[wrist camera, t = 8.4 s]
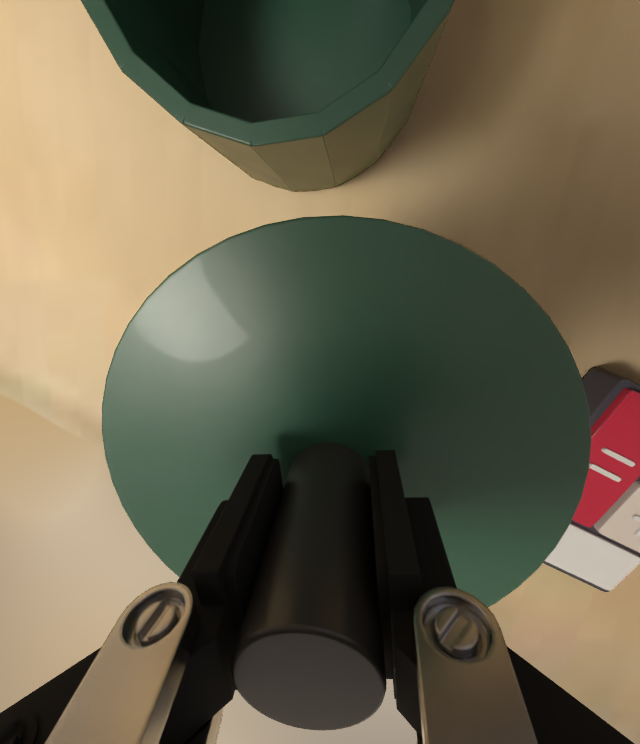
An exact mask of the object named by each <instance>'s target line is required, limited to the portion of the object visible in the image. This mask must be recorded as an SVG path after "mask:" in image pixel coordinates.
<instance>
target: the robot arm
mask: <svg viewBox="0 0 640 744" xmlns="http://www.w3.org/2000/svg"><path fill="white" fill-rule="evenodd" d="M369 470H370V486H371V501H372V516H373V531H374V546H375V561H376V576H377V590H378V605H379V620H380V624H381V627H382V632H383V644H384V657H385V671H386V679H393V685H394V696H395V699H396V703H397V709H398V711H399V712H400V713H401V714H402V715H403V716H404V717H405V718H406V720H407V721H408V722H409V723H410V725H411V726H412V727H413V728H414V729H415V734H416V744H634V743H633V742H632V741H630V740H629V739H628V738H626V737H625V736H624V735H622V734H621V733H620V732H618V731H617V730H616V729H614V728H613V727H612V726H611V725H609V724H608V723H607V722H605V721H604V720H603V719H601V718H600V717H599V716H597V715H596V714H595V713H594V712H592V711H591V710H590V709H588V708H587V707H586V706H584V705H583V704H582V703H580V702H579V701H578V700H576V699H575V698H574V697H573V696H571V695H570V694H569V693H567V692H566V691H565V690H563V689H562V688H561V687H559V686H558V685H557V684H556V683H554V682H553V681H552V680H550V679H549V678H548V677H546V676H545V675H544V674H542V673H541V672H540V671H538V670H537V669H536V668H535V667H533V666H532V665H531V664H529V663H528V662H527V661H525V660H524V659H523V658H521V657H520V656H519V655H518V654H516V653H515V652H514V651H512V650H511V649H510V648H508V647H507V646H506V643H505V640H504V637H503V634H502V631H501V628H500V626H499V624H498V622H497V620H496V618H495V616H494V615H493V613H492V612H491V611H490V610H489V609H488V607H487V606H486V605H485V604H484V603H483V602H481V601H480V600H479V599H478V598H476V597H475V596H474V595H472V594H470V593H468V592H466V591H463V590H461V589H457V587H456V584H455V580H454V577H453V574H452V571H451V567H450V564H449V561H448V558H447V554H446V551H445V548H444V545H443V541H442V538H441V535H440V531H439V528H438V525H437V522H436V518H435V515H434V512H433V509H432V505H431V502H430V500H429V498H428V497H406V498H405V496H404V491H403V487H402V482H401V477H400V472H399V467H398V462H397V458H396V453H395V450H376V456H369ZM283 489H284V488H283V482H282V476H281V469H280V463H279V460H278V459H273V456H272V455H271V454H253V455H252V456H251V457H250V459H249V461H248V463H247V465H246V467H245V469H244V471H243V473H242V475H241V477H240V479H239V480H238V482H237V484H236V486H235V488H234V490H233V492H232V494H231V496H230V498H229V500H224V501H222V502H221V503H220V505H219V506H218V508H217V510H216V511H215V513H214V515H213V517H212V519H211V521H210V523H209V524H208V526H207V528H206V530H205V532H204V534H203V535H202V537H201V539H200V541H199V543H198V545H197V546H196V548H195V550H194V552H193V554H192V556H191V557H190V559H189V561H188V563H187V565H186V567H185V568H184V570H183V572H182V574H181V576H180V578H179V579H178V581H177V583H175V582H169V583H164V584H160V585H157V586H155V587H152V588H150V589H148V590H147V591H145V592H144V593H142V594H141V595H139V596H138V597H137V598H136V599H134V600H133V601H132V602H131V603H130V604H129V605H128V606H127V607H126V609H125V610H124V612H123V613H122V614H121V616H120V617H119V619H118V620H117V622H116V624H115V626H114V627H113V629H112V630H111V632H110V634H109V635H108V637H107V639H106V641H105V642H104V644H103V646H102V647H101V648H99V649H98V650H96V651H95V652H93V653H92V654H91V655H89V656H87V657H86V658H84V659H83V660H81V661H79V662H78V663H76V664H75V665H73V666H72V667H70V668H69V669H67V670H66V671H64V672H63V673H61V674H60V675H58V676H57V677H55V678H53V679H52V680H50V681H49V682H47V683H46V684H44V685H43V686H41V687H40V688H38V689H37V690H35V691H34V692H32V693H30V694H29V695H28V696H26V697H24V698H23V699H21V700H20V701H18V702H17V703H15V704H14V705H12V706H11V707H9V708H8V709H6V710H4V711H3V712H1V713H0V744H216V741H217V737H218V733H219V728H220V724H221V720H222V713H223V707H224V706H225V705H226V704H227V703H228V702H229V701H231V700H232V699H233V695H234V691H235V690H237V688H236V686H235V684H234V682H233V678H232V673H231V661H232V656H233V653H234V649H235V646H236V643H237V640H238V636H239V633H240V630H241V626H242V623H243V620H244V617H245V613H246V610H247V607H248V604H249V600H250V597H251V594H252V590H253V587H254V584H255V581H256V577H257V574H258V571H259V567H260V564H261V561H262V558H263V554H264V551H265V548H266V545H267V541H268V538H269V535H270V531H271V528H272V525H273V522H274V518H275V515H276V512H277V509H278V505H279V502H280V499H281V495H282V492H283Z"/></svg>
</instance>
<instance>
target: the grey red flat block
mask: <svg viewBox="0 0 640 744" xmlns="http://www.w3.org/2000/svg"><path fill="white" fill-rule="evenodd" d="M582 381H583V386H584V390H585V394H586V398H587V402H588V406H589V412H590V426H591V451H590V462H589V471H588V475H587V479H586V483H585V486H584V490H583V494H582V498H581V500H580V503H579V505H578V507H577V510H576V512H575V514H574V516H573V519H572V521H571V523H570V525H569V527H568V528H567V530H566V532H565V533H564V535H563V536H562V538H561V540H560V541H559V543H558V544H557V546H556V548H555V549H554V550H553V551H552V552H551V554H550V555H549V556H548V557H547V558H546V560H545V561H544V562H543V563H544V564H546V565H548V566H551V567H553V568H555V569H557V570H559V571H561V572H563V573H565V574H567V575H570V576H572V577H574V578H576V579H578V580H580V581H582V582H584V583H586V584H589V585H591V586H593V587H595V588H597V589H599V590H601V591H604V592H608V591H611V590H613V589H614V588H615V587H616V586H617V585H618V584H619V583H620V582H621V581H622V580H623V579H624V578H625V577H626V576H627V575H628V574H629V573H630V572H631V571H632V570H633V569H635V568H636V567H637V566H638V565H639V564H640V385H639V384H637V383H635V382H633V381H631V380H629V379H627V378H624V377H622V376H619V375H617V374H614V373H611V372H609V371H606V370H603V369H600V368H592V369H591V370H590V371H589V372H588V373H587V374H586V376H585V377H584V378H583V380H582Z"/></svg>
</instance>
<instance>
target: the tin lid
mask: <svg viewBox="0 0 640 744" xmlns="http://www.w3.org/2000/svg"><path fill="white" fill-rule="evenodd" d="M102 434H103V442H104V449H105V456H106V460H107V464H108V468H109V471H110V475H111V479H112V482H113V484H114V487H115V489H116V491H117V494H118V496H119V499H120V501H121V503H122V506H123V507H124V509H125V511H126V513H127V514H128V516H129V518H130V520H131V521H132V523H133V525H134V527H135V528H136V529H137V531H138V532H139V533H140V535H141V536H142V538H143V539H144V540H145V542H146V543H147V544H148V546H149V547H150V548H151V549H152V550H153V552H154V553H155V554H156V555H157V556H158V557H159V558H160V559H161V560H162V561H163V562H164V564H166V566H168V567H169V568H170V569H171V570H172V571H173V572H174V573H175V574H177V575H178V576H179V577H180V576H181V574H182V572H183V570H184V568H185V567H186V565H187V563H188V561H189V559H190V557H191V556H192V554H193V552H194V550H195V548H196V546H197V545H198V543H199V541H200V539H201V537H202V535H203V534H204V532H205V530H206V528H207V526H208V524H209V523H210V521H211V519H212V517H213V515H214V513H215V511H216V510H217V508H218V506H219V505H220V503H221V502H222V501H224V500H229V498H230V496H231V494H232V492H233V490H234V488H235V486H236V484H237V482H238V480H239V479H240V477H241V475H242V473H243V471H244V469H245V467H246V465H247V463H248V461H249V459H250V457H251V456H252V455H253V454H271V455H272V456H273V459H278V460H279V463H280V469H281V476H282V482H283V488H284V489H283V492H282V495H281V499H280V502H279V505H278V509H277V512H276V515H275V518H274V522H273V525H272V528H271V531H270V535H269V538H268V541H267V545H266V548H265V551H264V554H263V558H262V561H261V564H260V567H259V571H258V574H257V577H256V581H255V584H254V587H253V590H252V594H251V597H250V600H249V604H248V607H247V610H246V613H245V617H244V620H243V623H242V626H241V630H240V633H239V636H238V640H237V643H236V646H235V649H234V653H233V656H232V661H231V673H232V678H233V682H234V684H235V686H236V688H237V690H238V692H239V693H240V694H241V696H242V697H243V698H244V699H245V700H246V701H247V702H248V704H250V705H251V706H252V707H253V708H255V709H256V710H257V711H259V712H260V713H262V714H264V715H265V716H267V717H269V718H271V719H273V720H276V721H278V722H281V723H283V724H286V725H290V726H293V727H297V728H303V729H310V730H336V729H342V728H346V727H350V726H353V725H356V724H359V723H360V722H362V721H365V720H366V719H368V718H369V717H370V716H372V715H373V714H374V713H375V712H376V711H377V710H378V708H379V707H380V705H381V703H382V701H383V698H384V695H385V691H386V671H385V657H384V644H383V632H382V627H381V624H380V620H379V605H378V590H377V576H376V561H375V546H374V531H373V516H372V501H371V486H370V470H369V456H376V450H395V453H396V458H397V462H398V467H399V472H400V477H401V482H402V487H403V491H404V496H405V498H406V497H428V498H429V500H430V502H431V505H432V509H433V512H434V515H435V518H436V522H437V525H438V528H439V531H440V535H441V538H442V541H443V545H444V548H445V551H446V554H447V558H448V561H449V564H450V567H451V571H452V574H453V577H454V580H455V584H456V587H457V589H461V590H463V591H466V592H468V593H470V594H472V595H474V596H475V597H476V598H478V599H479V600H480V601H481V602H483V603H484V604H485V605H486V606H487V607H489V606H491V605H493V604H495V603H496V602H498V601H499V600H501V599H502V598H503V597H505V596H506V595H508V594H509V593H510V592H512V591H513V590H515V589H516V588H517V587H519V586H520V585H521V584H522V583H523V582H524V581H525V580H526V579H527V578H528V577H529V576H531V575H532V574H533V573H534V572H535V571H536V570H537V569H538V568H539V567H540V566H541V564H542V563H543V562H544V561H545V560H546V558H547V557H548V556H549V555H550V554H551V552H552V551H553V550H554V549H555V548H556V546H557V544H558V543H559V541H560V540H561V538H562V536H563V535H564V533H565V532H566V530H567V528H568V527H569V525H570V523H571V521H572V519H573V516H574V514H575V512H576V510H577V507H578V505H579V503H580V500H581V498H582V494H583V490H584V486H585V483H586V479H587V475H588V471H589V462H590V451H591V426H590V412H589V406H588V402H587V398H586V394H585V390H584V386H583V381H582V378H581V375H580V373H579V371H578V368H577V366H576V364H575V361H574V359H573V357H572V354H571V352H570V350H569V347H568V345H567V344H566V342H565V341H564V339H563V338H562V336H561V334H560V333H559V331H558V330H557V328H556V327H555V325H554V323H553V322H552V320H551V319H550V317H549V316H548V315H547V314H546V313H545V311H544V310H543V309H542V308H541V307H540V306H539V305H538V304H537V302H536V301H535V300H534V299H533V298H532V297H531V296H530V295H529V293H528V292H527V291H526V290H525V289H524V288H523V287H521V286H520V285H519V284H518V283H517V282H515V281H514V280H513V279H512V278H510V277H509V276H508V275H507V274H506V273H504V272H503V271H502V270H501V269H499V268H498V267H497V266H496V265H495V264H493V263H491V262H489V261H488V260H486V259H484V258H483V257H481V256H479V255H478V254H476V253H474V252H473V251H471V250H469V249H467V248H466V247H464V246H462V245H461V244H458V243H456V242H453V241H451V240H448V239H446V238H444V237H441V236H439V235H436V234H434V233H431V232H429V231H426V230H424V229H420V228H416V227H412V226H408V225H404V224H400V223H396V222H392V221H388V220H384V219H374V218H363V217H353V216H322V217H302V218H297V219H292V220H287V221H282V222H277V223H272V224H266V225H263V226H260V227H257V228H254V229H251V230H249V231H246V232H243V233H240V234H237V235H234V236H232V237H229V238H227V239H225V240H223V241H221V242H219V243H217V244H216V245H214V246H212V247H210V248H208V249H206V250H204V251H202V252H201V253H199V254H197V255H196V256H194V257H193V258H191V259H190V260H189V261H187V262H186V263H185V264H183V265H182V266H181V267H179V268H178V269H177V270H175V271H174V272H173V273H171V274H170V275H169V276H168V277H167V278H166V279H165V280H164V281H163V282H162V283H161V284H160V285H159V286H158V287H157V288H156V289H155V290H154V291H153V292H152V293H151V294H150V295H149V296H148V297H147V298H146V300H145V301H144V303H143V304H142V306H141V307H140V308H139V310H138V311H137V313H136V314H135V315H134V317H133V318H132V320H131V321H130V322H129V324H128V326H127V328H126V330H125V332H124V334H123V336H122V338H121V340H120V342H119V344H118V346H117V348H116V350H115V352H114V356H113V359H112V362H111V365H110V368H109V371H108V375H107V378H106V384H105V391H104V397H103V403H102Z"/></svg>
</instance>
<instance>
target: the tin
mask: <svg viewBox="0 0 640 744" xmlns="http://www.w3.org/2000/svg"><path fill="white" fill-rule="evenodd" d="M81 1H82V3H83V5H84V7H85V8H86V10H87V12H88V14H89V15H90V17H91V19H92V21H93V22H94V24H95V26H96V28H97V29H98V31H99V33H100V34H101V36H102V38H103V40H104V41H105V43H106V45H107V47H108V48H109V50H110V52H111V54H112V55H113V57H114V59H115V60H116V62H117V64H118V66H119V67H120V69H121V70H122V72H123V73H124V74H125V75H127V76H128V77H129V78H130V79H131V80H132V81H133V82H135V83H136V84H137V85H138V86H139V87H140V88H141V89H143V90H144V91H145V92H146V93H147V94H148V95H149V96H151V97H152V98H153V99H154V100H155V101H156V102H157V103H159V104H160V105H161V106H162V107H163V108H164V109H165V110H167V111H168V112H169V113H170V114H171V115H172V116H173V117H174V118H176V119H177V120H178V121H179V122H180V123H181V124H183V125H184V126H185V127H187V128H188V129H189V130H190V131H192V132H193V133H194V134H196V135H197V136H198V137H200V138H201V139H202V140H204V141H205V142H206V143H207V144H209V145H210V146H211V147H213V148H214V149H215V150H217V151H218V152H219V153H221V154H222V155H223V156H224V157H226V158H227V159H228V160H230V161H231V162H232V163H234V164H235V165H236V166H238V167H239V168H240V169H241V170H243V171H244V172H245V173H247V174H248V175H249V176H251V177H252V178H254V179H256V180H259V181H262V182H265V183H267V184H270V185H272V186H275V187H278V188H282V189H286V190H290V191H294V192H297V191H316V190H321V189H326V188H330V187H335V186H338V185H339V184H341V183H344V182H346V181H347V180H349V179H351V178H353V177H355V176H357V175H358V174H359V173H361V172H362V171H364V170H365V169H366V168H368V167H369V166H370V165H372V164H373V163H375V162H376V161H377V160H378V158H379V157H380V156H381V154H382V153H383V152H384V151H385V150H386V149H387V147H388V146H389V145H390V144H391V142H392V141H393V139H394V138H395V136H396V135H397V133H398V132H399V131H400V129H401V128H402V127H403V125H404V124H405V123H406V121H407V119H408V117H409V114H410V112H411V109H412V106H413V104H414V101H415V99H416V96H417V94H418V91H419V89H420V86H421V84H422V81H423V79H424V76H425V74H426V71H427V69H428V66H429V63H430V61H431V58H432V56H433V53H434V51H435V48H436V46H437V43H438V41H439V38H440V36H441V33H442V31H443V28H444V26H445V23H446V20H447V18H448V15H449V13H450V10H451V8H452V5H453V2H454V0H81Z"/></svg>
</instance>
